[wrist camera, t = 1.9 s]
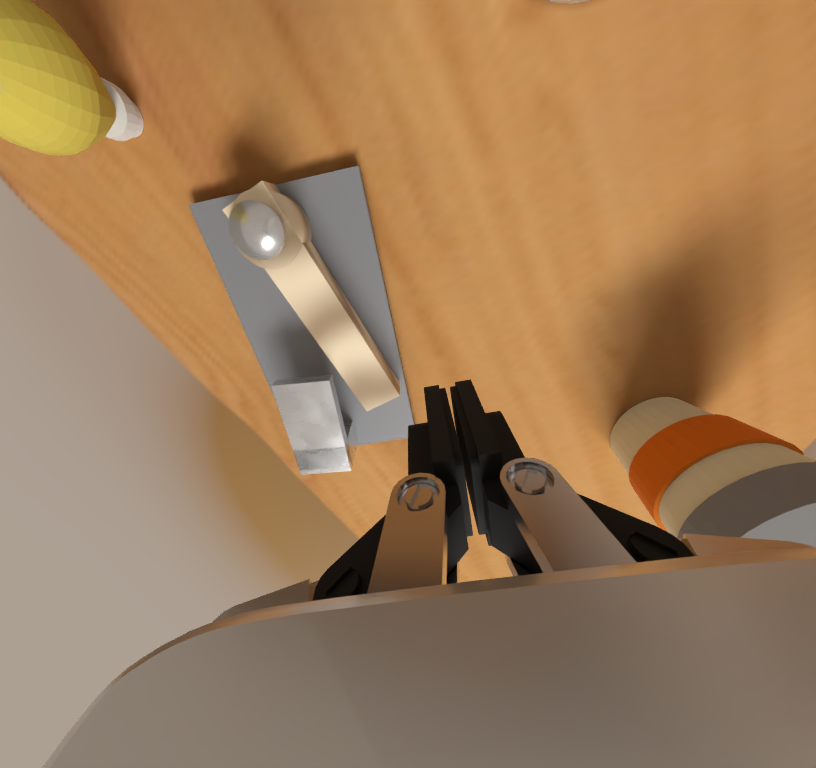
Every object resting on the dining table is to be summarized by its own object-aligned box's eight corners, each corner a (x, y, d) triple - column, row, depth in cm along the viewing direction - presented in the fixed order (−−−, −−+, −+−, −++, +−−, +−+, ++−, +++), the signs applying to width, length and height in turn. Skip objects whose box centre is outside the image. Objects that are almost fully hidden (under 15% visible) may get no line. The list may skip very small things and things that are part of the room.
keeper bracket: (288, 365, 30) (271, 386, 26) (339, 360, 29) (329, 380, 26) (313, 446, 34) (301, 474, 30) (357, 442, 34) (351, 470, 30)
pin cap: (229, 207, 21) (218, 206, 20) (278, 196, 21) (271, 194, 20) (250, 262, 23) (242, 264, 21) (297, 253, 22) (291, 254, 21)
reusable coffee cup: (672, 359, 31) (878, 460, 17) (731, 423, 34) (939, 547, 21) (571, 438, 35) (672, 567, 22) (632, 487, 39) (752, 624, 25)
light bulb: (182, 180, 24) (47, 152, 15) (91, 164, 23) (-107, 124, 14) (165, 63, 21) (-20, -62, 12) (58, 42, 20) (-218, -106, 11)
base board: (196, 205, 24) (188, 204, 23) (359, 167, 23) (358, 165, 22) (302, 448, 36) (299, 454, 35) (416, 430, 34) (416, 436, 34)
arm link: (230, 215, 24) (212, 214, 21) (283, 177, 22) (270, 171, 20) (363, 402, 31) (359, 415, 29) (407, 380, 30) (407, 392, 28)
